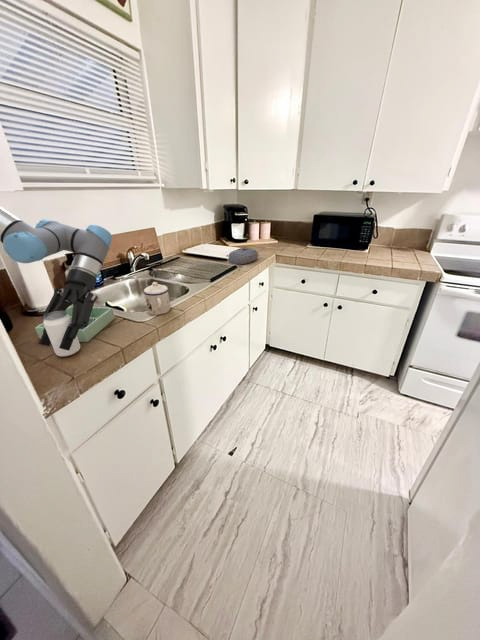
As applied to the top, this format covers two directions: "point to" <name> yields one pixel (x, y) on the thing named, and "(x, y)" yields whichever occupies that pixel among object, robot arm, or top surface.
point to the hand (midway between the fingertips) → (53, 347)
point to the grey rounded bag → (243, 256)
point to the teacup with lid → (157, 299)
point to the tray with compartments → (95, 324)
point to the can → (59, 332)
